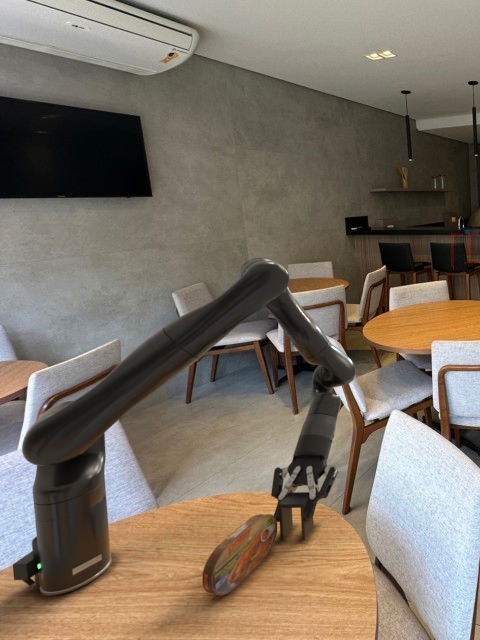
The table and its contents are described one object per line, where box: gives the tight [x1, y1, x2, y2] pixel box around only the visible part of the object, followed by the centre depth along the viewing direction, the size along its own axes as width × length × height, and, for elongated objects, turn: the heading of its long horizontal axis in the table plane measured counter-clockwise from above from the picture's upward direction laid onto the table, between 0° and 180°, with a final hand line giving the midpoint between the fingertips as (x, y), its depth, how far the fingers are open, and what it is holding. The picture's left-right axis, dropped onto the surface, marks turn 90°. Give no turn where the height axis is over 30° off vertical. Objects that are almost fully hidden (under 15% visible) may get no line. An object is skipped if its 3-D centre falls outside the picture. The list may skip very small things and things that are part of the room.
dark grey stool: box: [279, 491, 315, 541], centre depth 89 cm, size 5×4×8 cm
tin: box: [202, 513, 278, 596], centre depth 79 cm, size 15×3×8 cm, turn 168°
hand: (292, 520), depth 87 cm, fingers closed on dark grey stool, 5 cm apart
